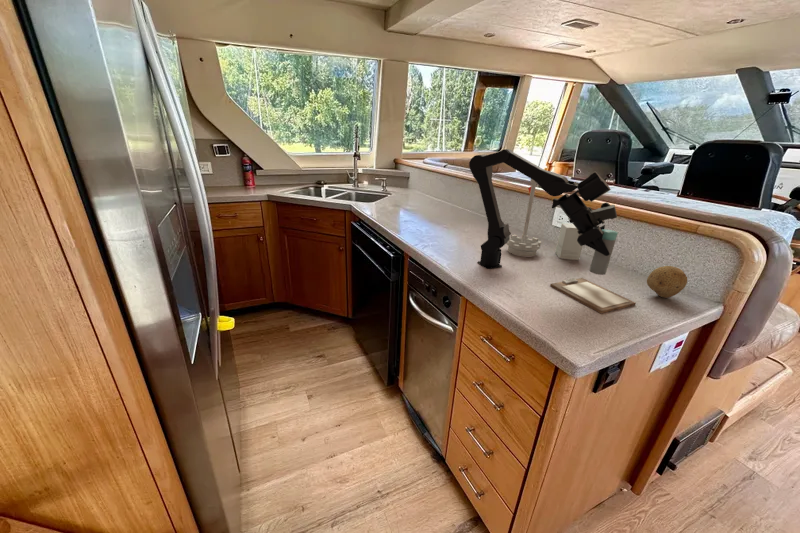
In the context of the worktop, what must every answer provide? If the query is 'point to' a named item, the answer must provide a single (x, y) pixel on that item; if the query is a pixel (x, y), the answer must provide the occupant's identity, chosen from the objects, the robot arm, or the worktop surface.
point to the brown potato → (667, 281)
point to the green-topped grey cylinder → (600, 260)
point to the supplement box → (568, 243)
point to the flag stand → (525, 234)
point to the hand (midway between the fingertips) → (608, 252)
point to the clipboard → (592, 295)
